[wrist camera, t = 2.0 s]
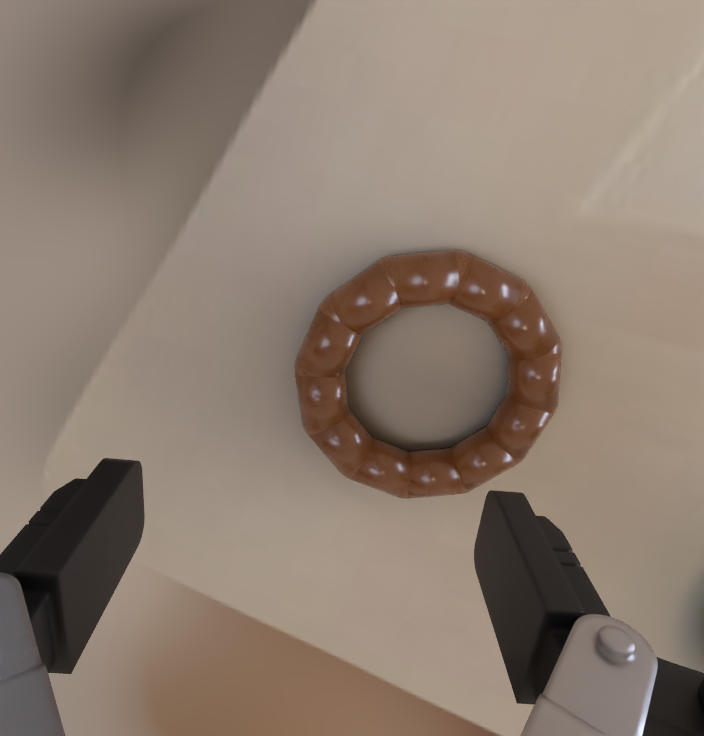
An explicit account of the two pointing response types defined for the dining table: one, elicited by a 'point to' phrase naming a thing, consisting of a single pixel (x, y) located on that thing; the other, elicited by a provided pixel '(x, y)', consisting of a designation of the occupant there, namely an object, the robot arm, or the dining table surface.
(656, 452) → the dining table surface
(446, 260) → the ring
